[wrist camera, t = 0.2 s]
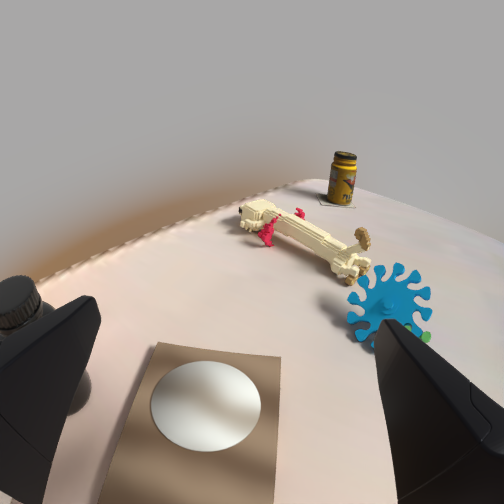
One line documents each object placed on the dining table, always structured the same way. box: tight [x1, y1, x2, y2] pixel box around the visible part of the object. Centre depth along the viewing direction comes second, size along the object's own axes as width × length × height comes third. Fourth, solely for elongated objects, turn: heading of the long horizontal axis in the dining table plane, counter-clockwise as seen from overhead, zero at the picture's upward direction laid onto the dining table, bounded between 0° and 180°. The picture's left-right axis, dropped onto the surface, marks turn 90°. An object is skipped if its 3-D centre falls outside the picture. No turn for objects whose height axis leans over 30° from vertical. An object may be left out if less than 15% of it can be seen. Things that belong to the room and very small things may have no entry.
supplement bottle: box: [0, 275, 91, 416], centre depth 18 cm, size 7×7×12 cm
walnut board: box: [97, 342, 281, 504], centre depth 17 cm, size 22×12×1 cm, turn 175°
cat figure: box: [239, 199, 371, 286], centre depth 45 cm, size 10×9×25 cm
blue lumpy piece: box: [347, 262, 432, 348], centre depth 30 cm, size 11×6×10 cm
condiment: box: [316, 151, 357, 208], centre depth 64 cm, size 7×8×12 cm
